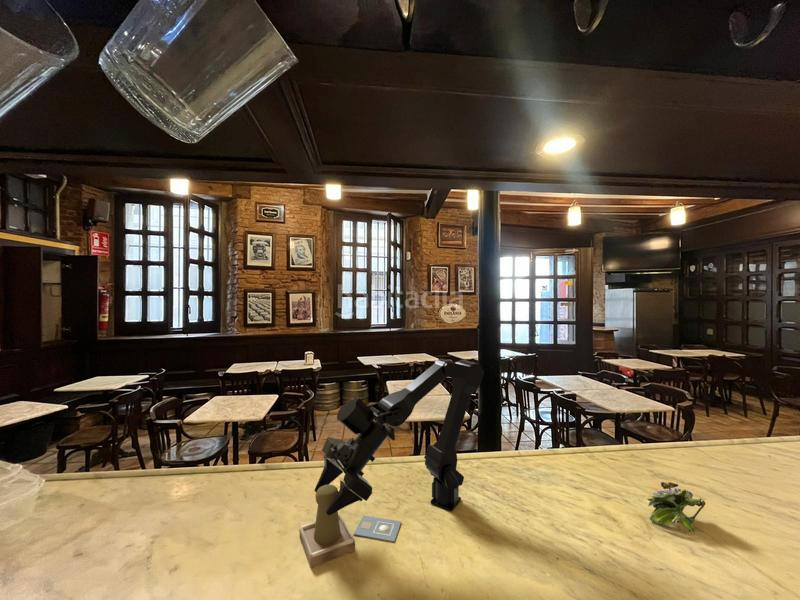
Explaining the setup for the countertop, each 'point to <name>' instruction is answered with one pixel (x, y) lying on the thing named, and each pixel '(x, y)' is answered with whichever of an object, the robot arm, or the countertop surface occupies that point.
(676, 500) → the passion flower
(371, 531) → the blueprint card
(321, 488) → the olive pawn figure
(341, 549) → the brown square tray
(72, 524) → the countertop surface
